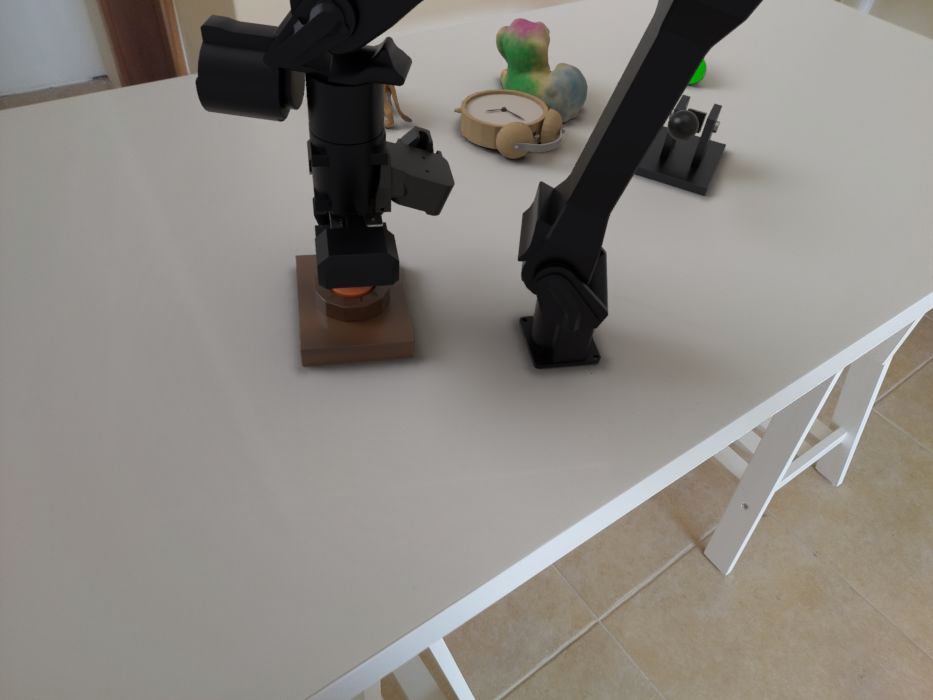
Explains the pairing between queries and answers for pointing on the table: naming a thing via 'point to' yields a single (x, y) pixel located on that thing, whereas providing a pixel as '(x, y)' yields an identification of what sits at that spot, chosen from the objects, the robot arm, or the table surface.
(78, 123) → the table surface
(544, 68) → the sculpture
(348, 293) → the button
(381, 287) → the button block
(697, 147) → the bracket
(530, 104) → the alarm clock
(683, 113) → the lever
